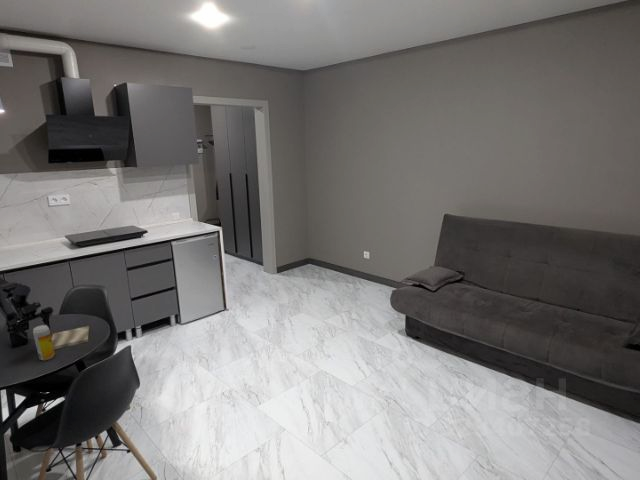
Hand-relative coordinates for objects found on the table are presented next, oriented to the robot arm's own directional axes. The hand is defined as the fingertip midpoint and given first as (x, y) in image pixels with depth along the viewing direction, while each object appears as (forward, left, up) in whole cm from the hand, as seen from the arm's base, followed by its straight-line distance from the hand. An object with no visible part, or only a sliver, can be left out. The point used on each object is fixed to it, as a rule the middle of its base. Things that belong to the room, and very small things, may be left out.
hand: (38, 333), depth 184 cm
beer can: (+2, -3, -11) cm, 12 cm away
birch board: (+10, +12, -11) cm, 19 cm away
